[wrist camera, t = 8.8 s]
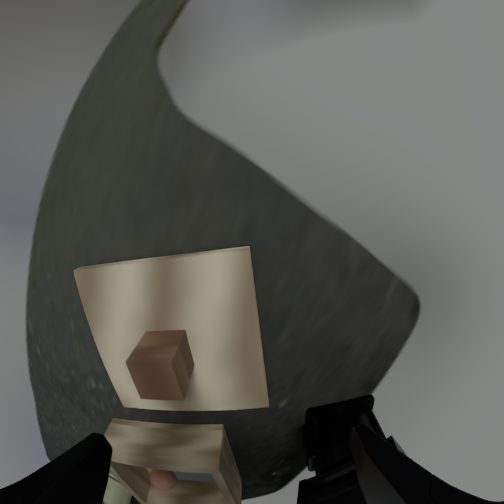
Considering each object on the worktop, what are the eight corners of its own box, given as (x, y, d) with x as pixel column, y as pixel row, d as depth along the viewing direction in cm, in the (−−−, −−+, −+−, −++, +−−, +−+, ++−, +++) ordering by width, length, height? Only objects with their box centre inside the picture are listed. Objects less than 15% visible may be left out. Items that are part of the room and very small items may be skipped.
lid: (249, 243, 18) (250, 267, 13) (267, 392, 21) (272, 443, 15) (85, 264, 18) (40, 287, 13) (130, 395, 21) (109, 436, 16)
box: (222, 424, 22) (218, 469, 16) (241, 479, 24) (241, 514, 19) (113, 417, 22) (94, 453, 16) (151, 474, 24) (142, 504, 19)
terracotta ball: (174, 463, 22) (169, 484, 19) (182, 476, 23) (178, 496, 20) (148, 461, 22) (142, 480, 19) (158, 473, 23) (152, 492, 20)
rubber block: (209, 439, 21) (206, 462, 18) (218, 459, 22) (216, 481, 19) (170, 438, 21) (164, 459, 18) (182, 458, 22) (177, 479, 19)
